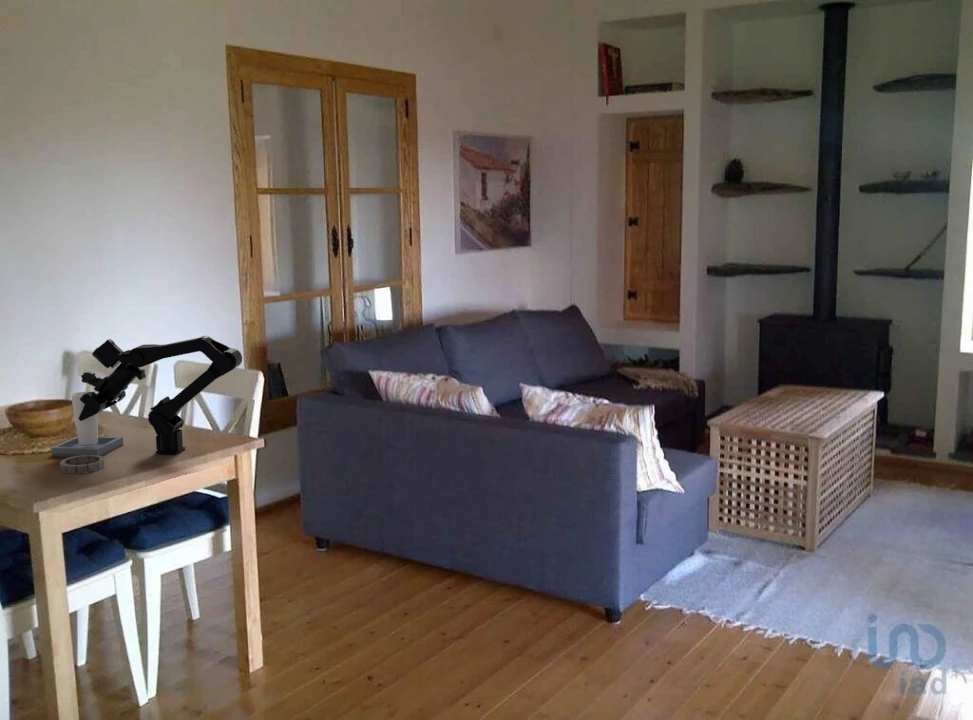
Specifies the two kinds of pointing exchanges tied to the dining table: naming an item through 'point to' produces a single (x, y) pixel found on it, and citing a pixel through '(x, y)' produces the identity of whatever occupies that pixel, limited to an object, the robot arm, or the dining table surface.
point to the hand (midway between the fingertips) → (85, 417)
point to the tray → (87, 447)
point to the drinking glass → (84, 423)
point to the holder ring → (71, 467)
